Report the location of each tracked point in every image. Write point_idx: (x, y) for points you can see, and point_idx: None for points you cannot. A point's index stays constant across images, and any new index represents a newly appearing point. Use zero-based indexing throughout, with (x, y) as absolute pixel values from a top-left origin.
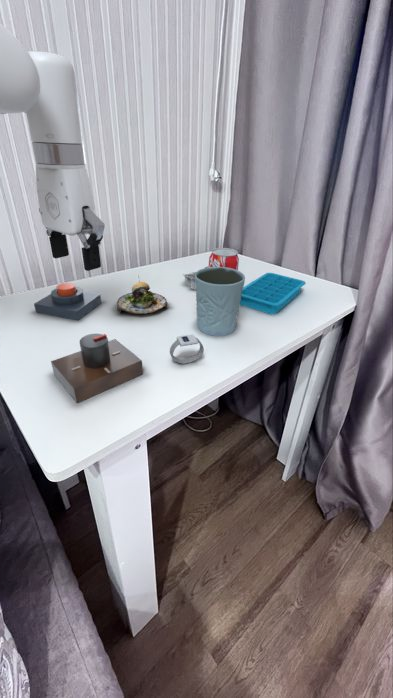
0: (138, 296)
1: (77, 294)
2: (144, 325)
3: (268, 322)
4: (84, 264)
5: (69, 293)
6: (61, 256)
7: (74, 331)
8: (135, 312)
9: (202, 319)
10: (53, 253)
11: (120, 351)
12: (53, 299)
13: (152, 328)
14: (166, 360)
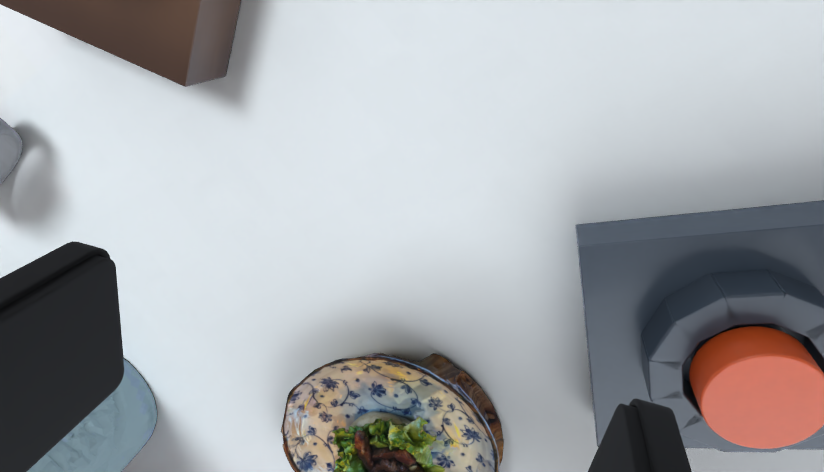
0: (380, 461)
1: (659, 369)
2: (288, 308)
3: None
4: (47, 269)
5: (706, 355)
6: (597, 458)
7: (514, 127)
8: (350, 363)
9: None
10: (647, 437)
11: (87, 4)
12: (797, 288)
13: (248, 300)
14: (57, 126)
